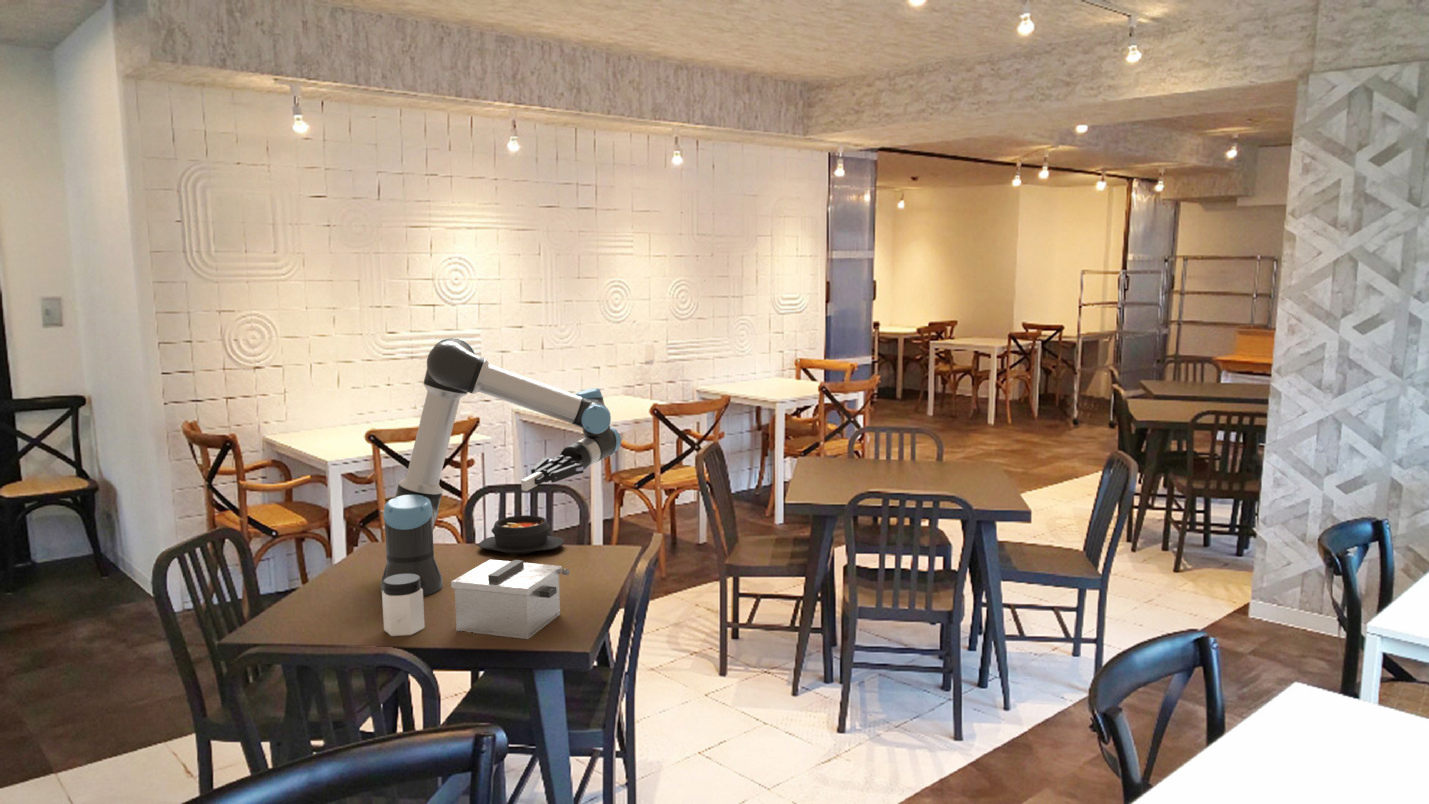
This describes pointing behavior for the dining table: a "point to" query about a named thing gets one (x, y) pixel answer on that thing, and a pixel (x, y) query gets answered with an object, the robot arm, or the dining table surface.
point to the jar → (403, 604)
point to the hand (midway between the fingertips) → (523, 485)
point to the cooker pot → (508, 610)
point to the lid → (507, 577)
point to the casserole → (521, 535)
